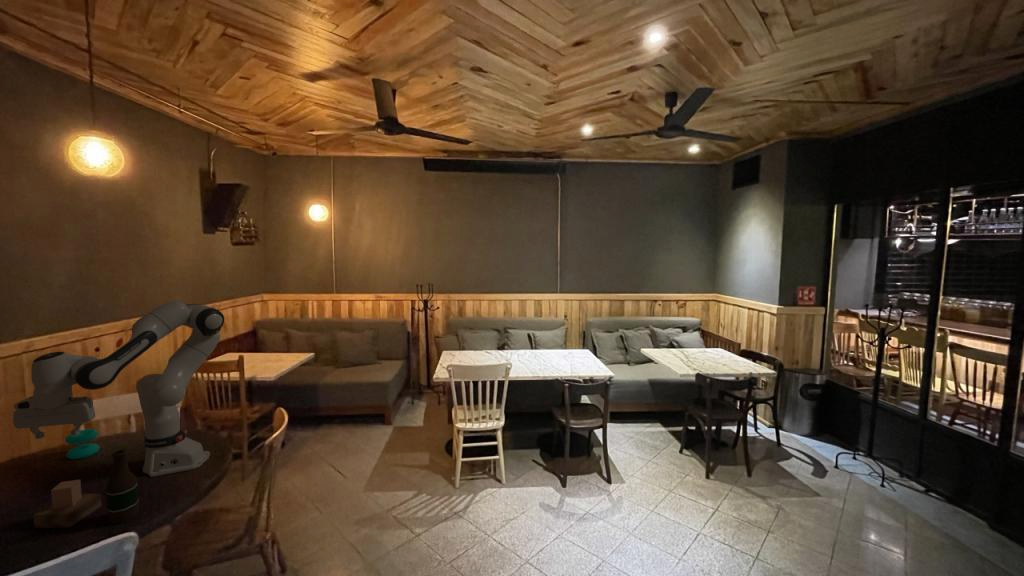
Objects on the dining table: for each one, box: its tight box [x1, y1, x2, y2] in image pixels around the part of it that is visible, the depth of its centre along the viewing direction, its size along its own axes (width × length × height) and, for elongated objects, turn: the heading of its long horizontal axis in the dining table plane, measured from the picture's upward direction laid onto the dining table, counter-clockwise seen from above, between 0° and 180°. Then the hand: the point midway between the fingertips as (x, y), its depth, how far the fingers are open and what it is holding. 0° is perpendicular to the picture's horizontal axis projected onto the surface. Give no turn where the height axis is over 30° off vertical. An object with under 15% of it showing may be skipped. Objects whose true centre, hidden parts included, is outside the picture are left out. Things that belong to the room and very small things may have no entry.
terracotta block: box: [50, 479, 83, 510], centre depth 136 cm, size 5×5×7 cm
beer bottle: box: [105, 449, 140, 525], centre depth 136 cm, size 8×8×24 cm
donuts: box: [64, 428, 101, 460], centre depth 175 cm, size 10×10×10 cm
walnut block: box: [32, 493, 103, 529], centre depth 136 cm, size 11×11×5 cm
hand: (57, 436), depth 139 cm, fingers open, 8 cm apart
